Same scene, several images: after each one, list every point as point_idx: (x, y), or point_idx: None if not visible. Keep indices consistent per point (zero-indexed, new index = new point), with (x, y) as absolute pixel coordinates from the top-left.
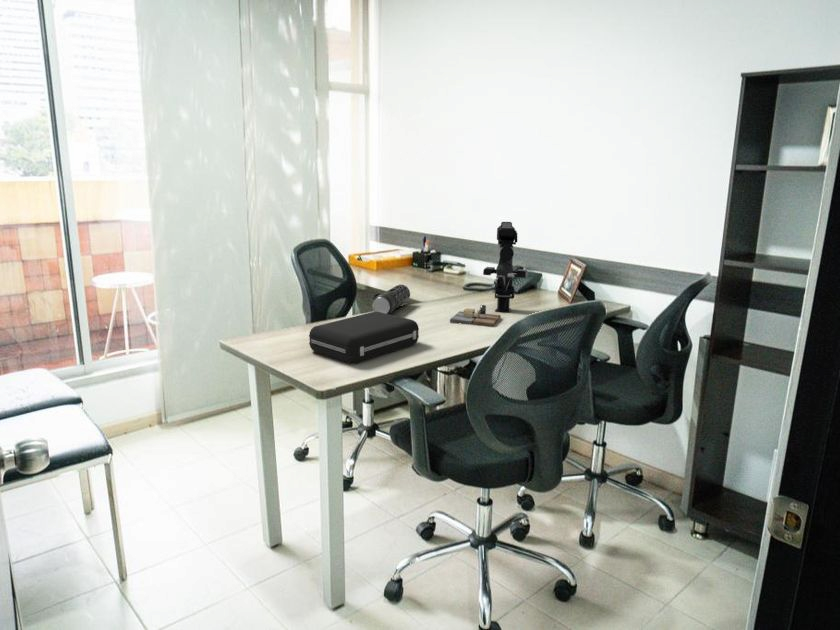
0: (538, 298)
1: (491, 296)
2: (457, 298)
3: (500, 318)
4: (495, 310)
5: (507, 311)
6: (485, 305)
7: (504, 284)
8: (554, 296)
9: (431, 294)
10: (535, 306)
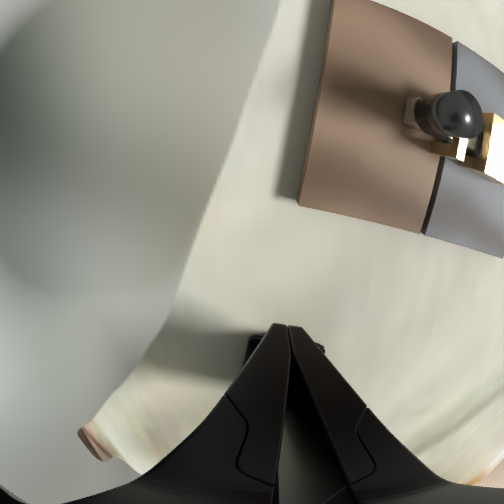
0: None
1: None
2: (420, 442)
3: (297, 196)
4: (322, 347)
5: (255, 338)
6: (451, 117)
7: (294, 431)
8: (138, 470)
9: (464, 441)
10: (152, 416)
